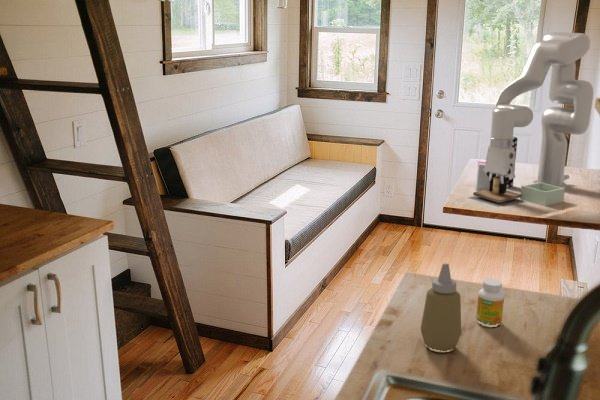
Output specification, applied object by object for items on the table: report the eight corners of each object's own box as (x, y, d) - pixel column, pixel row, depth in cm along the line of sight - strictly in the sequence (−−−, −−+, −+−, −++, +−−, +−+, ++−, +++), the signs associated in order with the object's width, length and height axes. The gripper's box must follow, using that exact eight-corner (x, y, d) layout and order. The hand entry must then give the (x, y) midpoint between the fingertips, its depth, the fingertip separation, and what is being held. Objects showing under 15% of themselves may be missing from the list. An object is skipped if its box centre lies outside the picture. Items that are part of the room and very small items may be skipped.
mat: (493, 194, 245) (493, 192, 245) (523, 203, 234) (524, 200, 234) (467, 200, 238) (467, 197, 237) (497, 209, 226) (498, 206, 226)
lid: (495, 189, 244) (496, 171, 242) (521, 197, 234) (523, 178, 232) (473, 195, 237) (474, 176, 235) (499, 202, 228) (500, 183, 226)
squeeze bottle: (415, 338, 134) (420, 257, 130) (452, 337, 135) (459, 256, 130) (425, 358, 127) (431, 272, 122) (465, 356, 127) (472, 271, 122)
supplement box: (491, 194, 246) (494, 165, 243) (475, 193, 247) (477, 164, 244) (490, 190, 251) (492, 161, 248) (474, 189, 252) (477, 161, 249)
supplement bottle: (477, 327, 139) (480, 285, 137) (474, 316, 144) (478, 276, 142) (502, 329, 139) (507, 287, 136) (499, 318, 144) (503, 278, 141)
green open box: (538, 197, 242) (539, 182, 240) (563, 204, 233) (565, 188, 232) (519, 201, 236) (521, 185, 234) (544, 208, 228) (546, 192, 226)
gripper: (527, 145, 225) (523, 195, 231) (490, 137, 239) (486, 185, 244) (513, 148, 221) (509, 199, 227) (476, 140, 235) (472, 188, 240)
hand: (497, 191), depth 235 cm, fingers closed on lid, 3 cm apart
